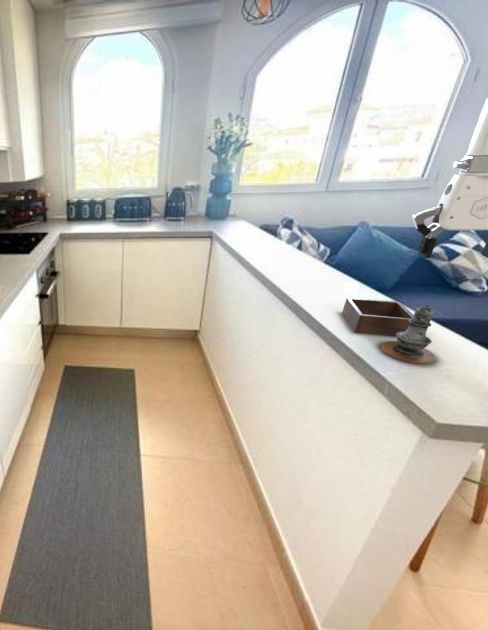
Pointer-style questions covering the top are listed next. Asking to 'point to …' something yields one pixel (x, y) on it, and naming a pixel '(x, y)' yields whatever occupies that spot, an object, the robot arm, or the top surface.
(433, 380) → the top surface
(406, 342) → the stone chess piece
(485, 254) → the robot arm
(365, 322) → the crate
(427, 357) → the coaster
